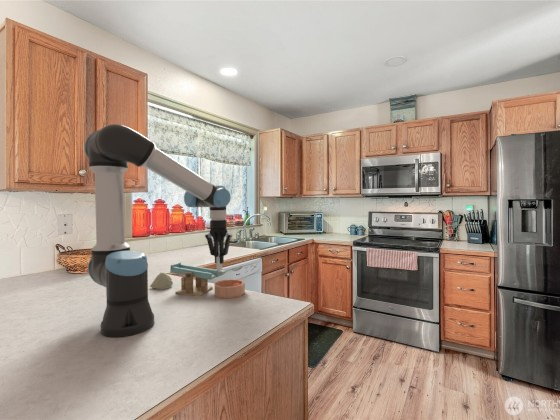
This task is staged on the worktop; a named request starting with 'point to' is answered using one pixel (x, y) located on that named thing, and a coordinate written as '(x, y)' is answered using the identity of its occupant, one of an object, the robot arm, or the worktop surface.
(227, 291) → the bowl
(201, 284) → the stand
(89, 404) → the worktop surface
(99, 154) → the robot arm
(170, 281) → the seashell
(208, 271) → the lever
